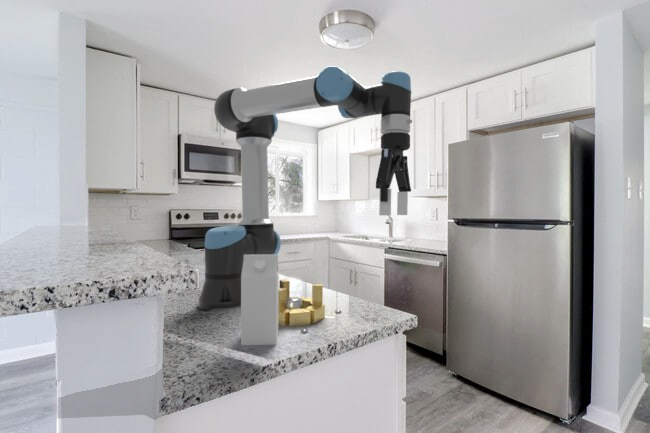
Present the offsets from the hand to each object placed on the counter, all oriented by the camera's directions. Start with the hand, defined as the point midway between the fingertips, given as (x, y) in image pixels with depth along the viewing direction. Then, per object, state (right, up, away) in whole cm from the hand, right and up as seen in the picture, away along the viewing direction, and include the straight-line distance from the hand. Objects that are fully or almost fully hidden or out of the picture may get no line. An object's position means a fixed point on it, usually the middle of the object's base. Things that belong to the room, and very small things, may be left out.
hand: (394, 215), depth 90 cm
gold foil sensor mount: (-26, -26, -2) cm, 37 cm away
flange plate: (-26, -27, -2) cm, 38 cm away
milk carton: (-32, -28, -17) cm, 46 cm away
